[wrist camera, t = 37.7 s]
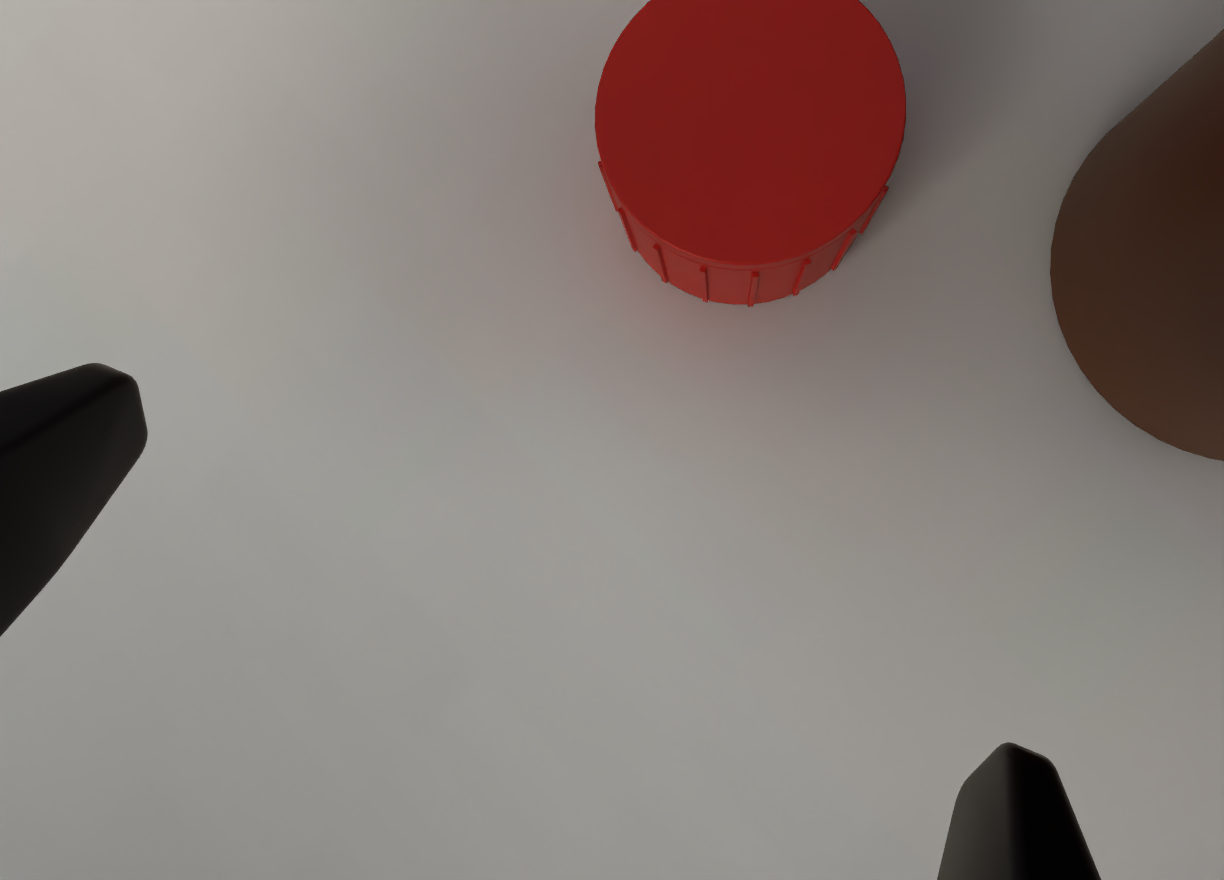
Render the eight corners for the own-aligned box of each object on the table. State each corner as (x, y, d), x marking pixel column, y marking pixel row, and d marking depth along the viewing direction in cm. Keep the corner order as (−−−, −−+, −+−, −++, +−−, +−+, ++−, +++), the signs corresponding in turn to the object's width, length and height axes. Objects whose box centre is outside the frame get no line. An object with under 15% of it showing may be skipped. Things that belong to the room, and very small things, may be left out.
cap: (621, 317, 16) (599, 280, 13) (608, 65, 16) (584, -27, 13) (882, 299, 15) (920, 257, 13) (865, 40, 16) (898, -61, 13)
